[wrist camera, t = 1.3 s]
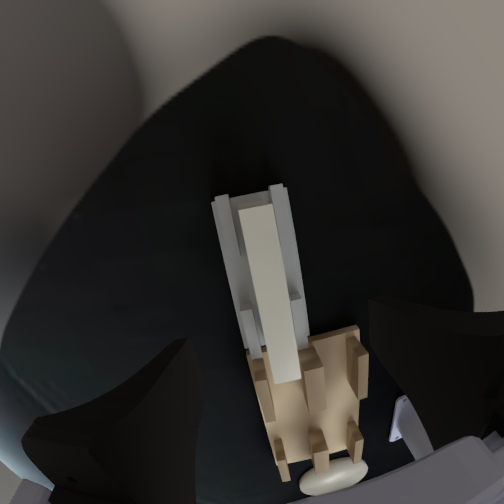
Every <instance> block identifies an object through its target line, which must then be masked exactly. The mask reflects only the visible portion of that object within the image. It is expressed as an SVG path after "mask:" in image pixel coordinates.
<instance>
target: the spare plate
mask: <svg viewBox="0 0 504 504" xmlns="http://www.w3.org/2000/svg"><path fill="white" fill-rule="evenodd" d="M367 470H368V467H367V465H366V462H365V461H364V460H363V459H361V462H359V463H356V464H353V462H352V460H351V457H344V458H338V459H334V460H331V461H329V472H326V473H322V474H318V475H316V474H315V470H314V468H312V469H310V470H309V471H307V472H306V473H305V474H304V475H303V476H302V477H301V478H300V481H299V485H300V490H301V491H302V492H303V493H305V494H307V495H313V496H317V495H321V494H325V493H329V492H333V491H336V490H340V489H343V488H347V487H350V486H352V485H354V484H356V483H357V482H358V481H360V480H361V479H362V478H363V477H364V476H365V474H366V473H367Z"/></svg>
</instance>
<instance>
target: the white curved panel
mask: <svg viewBox="0 0 504 504" xmlns="http://www.w3.org/2000/svg"><path fill="white" fill-rule="evenodd" d="M238 212H239V217H240V222H241V226H242V231H243V236H244V241H245V246H246V251H247V256H248V260H249V265H250V270H251V275H252V280H253V285H254V289H255V294H256V299H257V304H258V309H259V313H260V318H261V323H262V328H263V332H264V337H265V342H266V347H267V351H268V356H269V361H270V366H271V370H272V375H273V380H274V384H279V383H284V382H289V381H293V380H298V379H301V372H300V365H299V358H298V351H297V344H296V338H295V331H294V325H293V319H292V312H291V306H290V300H289V294H288V288H287V282H286V276H285V270H284V264H283V259H282V253H281V247H280V242H279V236H278V231H277V225H276V220H275V215H274V209H273V204H272V203H270V202H267V201H265V200H258V201H253V202H248V203H243V204H238Z"/></svg>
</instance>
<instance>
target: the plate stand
mask: <svg viewBox="0 0 504 504" xmlns="http://www.w3.org/2000/svg"><path fill="white" fill-rule="evenodd" d="M268 190H269V191H263V192H258V193H253V194H248V195H243V196H238V197H233V198H229V195H228V194H226V195H221V196H216V197H215V201H214V202H211V204H212V209H213V213H214V218H215V223H216V227H217V232H218V236H219V241H220V245H221V250H222V254H223V259H224V263H225V268H226V272H227V276H228V281H229V285H230V289H231V293H232V298H233V302H234V306H235V310H236V314H237V318H238V322H239V327H240V331H241V335H242V339H243V343H244V347H245V349H247V348H249V350H250V355H251V359H252V360H253V359H258V358H263V357H262V350H261V346H263V345H266V342H265V337H264V332H263V328H262V323H261V318H260V313H259V309H258V304H257V299H256V294H255V289H254V285H253V280H252V275H251V270H250V265H249V260H248V256H247V251H246V246H245V241H244V236H243V231H242V226H241V222H240V217H239V212H238V204H243V203H248V202H253V201H258V200H265V201H267V202H270V203H272V204H273V209H274V215H275V220H276V225H277V231H278V236H279V242H280V247H281V253H282V259H283V264H284V270H285V276H286V282H287V288H288V294H289V300H290V306H291V312H292V319H293V325H294V331H295V338H296V344H297V349H298V350H301V349H305V348H309V347H308V339H307V336H309V335H310V333H309V325H308V317H307V310H306V303H305V296H304V289H303V282H302V275H301V269H300V262H299V256H298V250H297V244H296V238H295V232H294V226H293V220H292V215H291V209H290V204H289V198H288V193H287V187H285V188H283V184H277V185H271V186H268Z"/></svg>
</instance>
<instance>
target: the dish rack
mask: <svg viewBox="0 0 504 504" xmlns="http://www.w3.org/2000/svg"><path fill="white" fill-rule="evenodd" d="M307 339H308V347H309V348H305V349H301V350H298V349H297V351H298V358H299V365H300V372H301V379H298V380H293V381H289V382H284V383H279V384H274V380H273V375H272V370H271V366H270V361H269V356H268V351H267V347H266V346H265V347H261V350H262V357H263V358H258V359H253V360H252V359H251V355H250V350H246V356H247V359H248V363H249V367H250V371H251V375H252V379H253V382H254V386H255V390H256V394H257V397H258V401H259V405H260V408H261V412H262V416H263V419H264V423H265V427H266V430H267V434H268V437H269V441H270V444H271V448H272V451H273V455H274V458H275V461H276V465H278V467H279V471H280V474H281V478H282V481H283V482H285V481H290V475H289V469H288V464H287V463H292V462H297V461H302V460H306V459H312V463H313V466H314V470H315V474H316V475H318V474H322V473H326V472H329V454H330V453H334V452H337V451H341V450H344V449H347V450H348V452H349V455H350V457H351V460H352V462H353V464H356V463H359V462H361V456H362V448H363V440H364V439H363V437H362V435H361V433H360V431H359V428H358V417H359V400H360V399H363V398H366V397H367V389H368V359H369V354H368V352H367V351H366V350H365V348H364V347H363V346H362V344H361V343H360V332H359V328H358V327H357V326H356V325H353V326H349V327H346V328H342V329H338V330H334V331H331V332H327V333H323V334H319V335H315V336H311V337H307Z"/></svg>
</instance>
